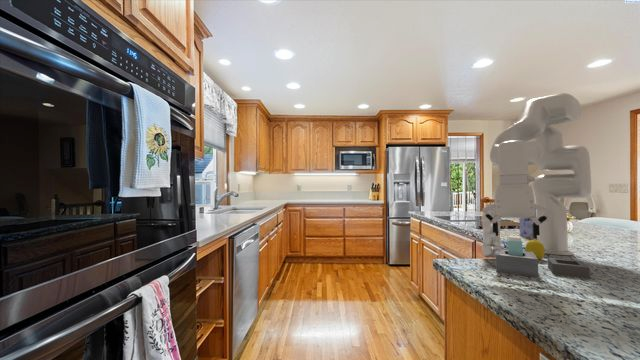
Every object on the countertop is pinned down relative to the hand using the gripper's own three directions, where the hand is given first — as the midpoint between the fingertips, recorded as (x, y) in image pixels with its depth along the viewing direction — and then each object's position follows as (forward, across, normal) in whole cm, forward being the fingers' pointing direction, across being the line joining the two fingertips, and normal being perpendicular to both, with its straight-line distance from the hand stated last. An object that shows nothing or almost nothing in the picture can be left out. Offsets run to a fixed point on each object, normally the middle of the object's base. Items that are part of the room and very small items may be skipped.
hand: (515, 236), depth 85 cm
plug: (+10, 0, 0) cm, 10 cm away
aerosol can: (+14, -11, -83) cm, 85 cm away
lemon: (+12, -7, -19) cm, 23 cm away
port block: (+11, 0, +1) cm, 11 cm away
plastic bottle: (+12, +6, -17) cm, 22 cm away
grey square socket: (+11, -13, -4) cm, 17 cm away
